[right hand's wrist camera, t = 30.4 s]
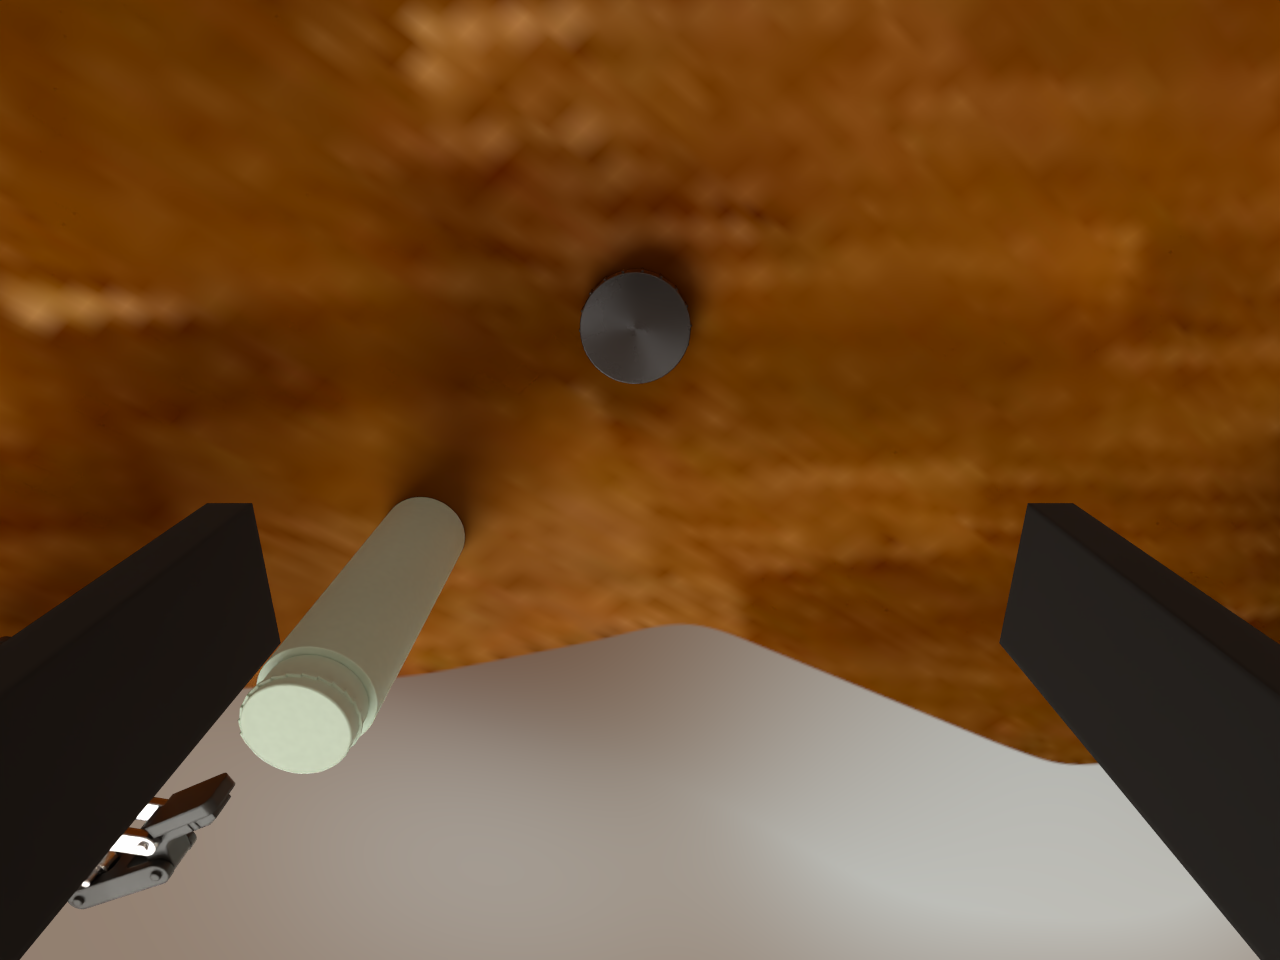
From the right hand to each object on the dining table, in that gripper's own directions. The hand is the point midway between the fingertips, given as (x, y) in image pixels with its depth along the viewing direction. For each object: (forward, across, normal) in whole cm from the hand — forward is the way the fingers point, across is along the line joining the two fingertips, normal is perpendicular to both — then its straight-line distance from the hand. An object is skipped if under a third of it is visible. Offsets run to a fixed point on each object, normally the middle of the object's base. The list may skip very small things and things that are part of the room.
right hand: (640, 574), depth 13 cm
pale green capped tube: (+28, +13, +12) cm, 33 cm away
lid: (+26, 0, 0) cm, 27 cm away
